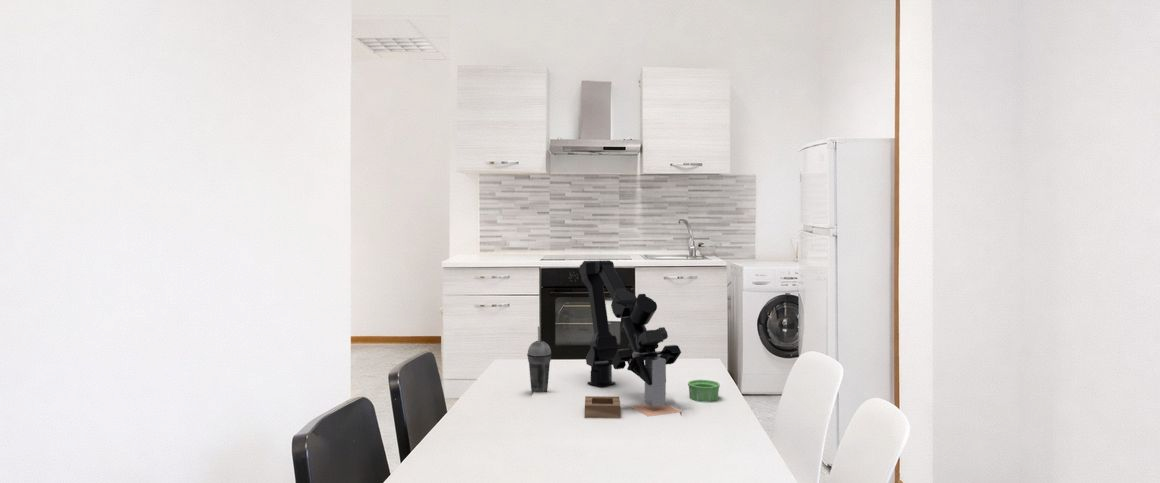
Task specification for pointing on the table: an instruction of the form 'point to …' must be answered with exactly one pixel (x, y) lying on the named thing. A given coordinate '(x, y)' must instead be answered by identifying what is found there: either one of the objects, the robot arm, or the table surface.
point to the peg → (656, 381)
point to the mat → (655, 409)
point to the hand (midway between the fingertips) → (657, 383)
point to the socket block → (602, 407)
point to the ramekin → (703, 390)
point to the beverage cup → (539, 364)
